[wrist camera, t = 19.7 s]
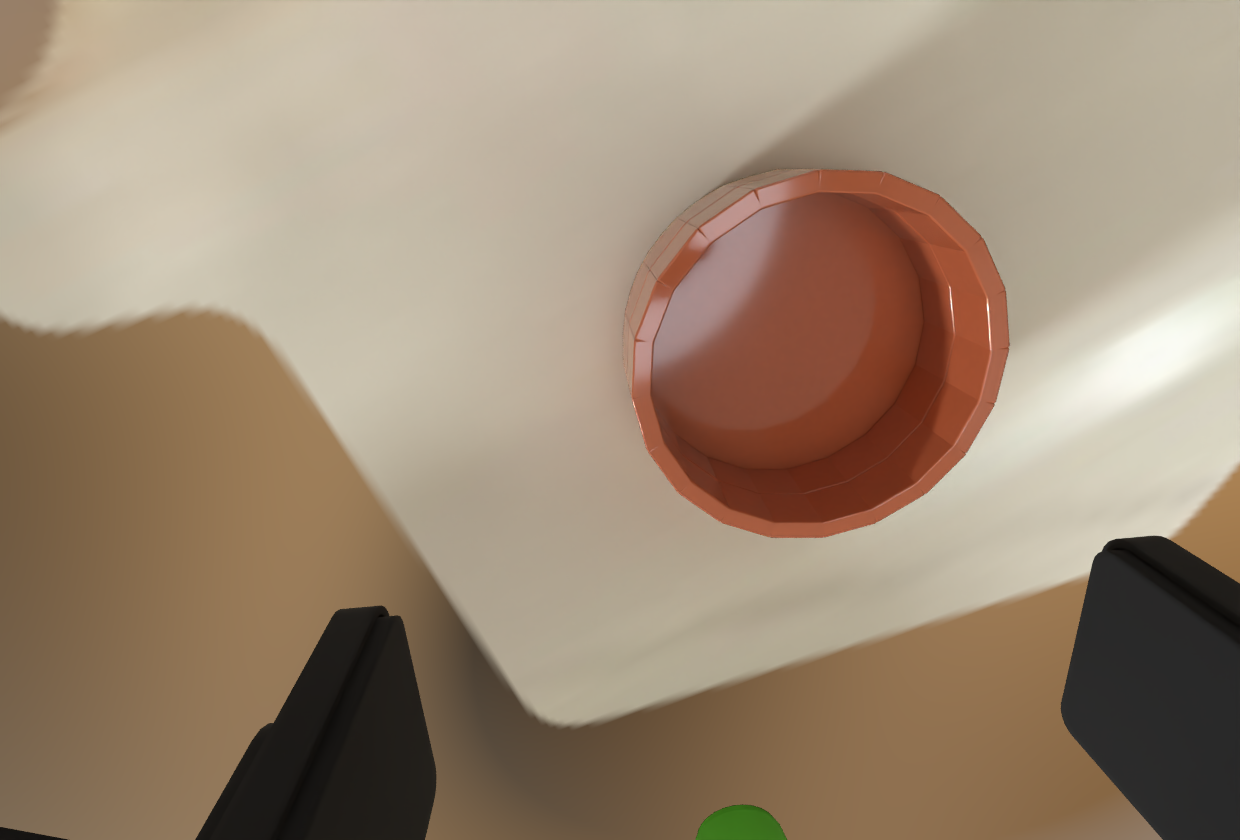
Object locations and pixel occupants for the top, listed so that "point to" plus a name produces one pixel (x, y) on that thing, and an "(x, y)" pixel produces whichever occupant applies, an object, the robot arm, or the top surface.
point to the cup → (740, 825)
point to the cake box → (23, 835)
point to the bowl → (814, 348)
